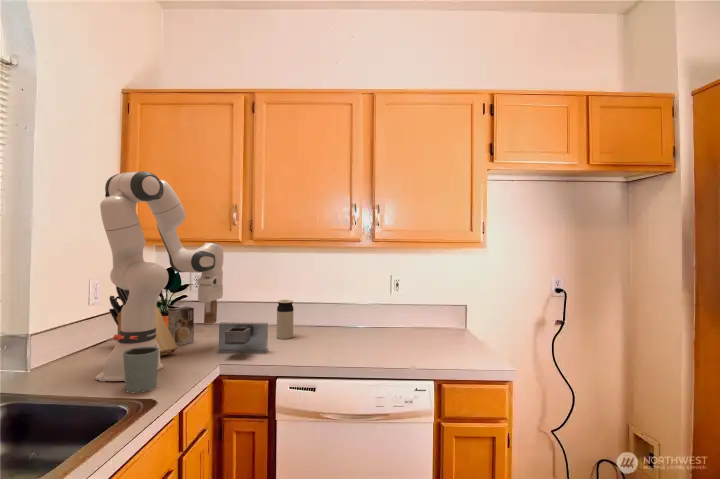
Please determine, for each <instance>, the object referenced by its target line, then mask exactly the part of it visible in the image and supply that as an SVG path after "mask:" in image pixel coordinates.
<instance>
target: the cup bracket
mask: <svg viewBox="0 0 720 479" xmlns="http://www.w3.org/2000/svg"><path fill="white" fill-rule="evenodd" d="M268 334H269V323H268V322H238V321H237V322H235V321H234V322H233V321H231V322H227V321H222V322H219V324H218V350H217V351H216V353H217V354H256V355H257V354H259V355H261V354H263V355H264V354H266V353H267V352H268V351H269V347H268V341H269V339H268V338H269V336H268Z"/></svg>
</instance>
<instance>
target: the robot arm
mask: <svg viewBox="0 0 720 479" xmlns="http://www.w3.org/2000/svg"><path fill="white" fill-rule="evenodd" d="M104 190H105V194H104V199H103V200H102V201H101V202H100V204H99V206H100V216H101V221H102V225H103V229H104V231H105V234H106V236H107V237H106V238H107V240H108V244H109V246H110V249H111V255H112V268H111V271H110V273H109V274H110V276H109V278H110V280H111V283H112V284H113V285H114V286H115V287H116V286H117V287H119V288H121V289H123V290H129V291H130V292H129V296H128V300H127V302H126V304H125V305H124V306H123V307H122V310H121V330H120V332H119V334H118V333H117V334H118V335H117V334H114V335H113V341H116V342H118V343H116V344H115V346H114V347H113V349H112V350H111V351H110V353H109V355H108V356H107V357H106V359H105V360H104V366H103V370H102V371H101V372H100V373H98V374H97V375H95V379H96V380H95V381H97V380H99V382H105V381H124V382H125V372H124V359H123V352H124V351H126V350H129V349H133V348H139V347H157V348H159V344H158V343H157V342H156V340H155V338H156V333H157V331H156V328H155V312H156V305H157V304H158V300H159V298H160V294H161V292H162V291H163V290H164V288H165V287H166V286H167V285H168V282H169V278H170V277H169V276H170V275H169V272H168V270H167V268H166V267H164V266H163V265H160V264H158V263H155V262H152V261H151V262H149V261H145V260H144V248H145V247H146V243H147V242H146V239H145V238H146V237H145V235H144V231H143V229H142V225H141V222H140V219H139V217H138V213H137V203H143V202H145V203H146V204H147V205H148V206H149V207H148V208H150V210H151V212H152V214H153V216H154V218H155V221H156V224H157V225H156V226H157V231H158V233H159V236H160V238H161V240H162V242H163V245H164V247H165V249H166V251H167V252H166V253H167V255H168V259H169V260H168V261H169V264H170V267H171V269H173V271H175V272H176V273H201V276H200V277H199V278H198V279H197V285H198V287H197V300H198V302H199V303H200V304H201V303H202V304H204V308H205V307H206V312H210V311H211V307H210V304H211V301H212V302H217V303H218V300H219V299H222V298H223V294H224V292H223V291H224V290H223V289H224V288H223V287H224V285H223V278H224V277H223V276H224V271H223V265H224V249H223V246H222V245H221V244H219V243H215V242H205V243H204V245H202V246H201V247H199V248H195V249H187V248H184V246H183V244H182V243H181V240H180V238H179V235H178V233H177V228H178V227H180V226H181V225H182V224H183V223H184V221H185V219H186V210H185V208H184V206H183V203H182V201H181V199H180V198H179V196H178V195H177V193H176V192H175V190H174V189H173V187H172V186H171V185H170V183H168V182H167V181H166V180H164V179H160V178H159V177H158V176H157V175H155V174H154V173H152V172H150V171H143V170H142V171H126V172H122V173H116V174H114V175H112V176H110V177H109V178H108V179H107V180H106V183H105V186H104ZM164 368H165V367H164V364H163V363H161V356H160V349H159V355H158V367H157V371H159V370H161V369H164Z"/></svg>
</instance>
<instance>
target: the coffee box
mask: <svg viewBox="0 0 720 479" xmlns="http://www.w3.org/2000/svg"><path fill="white" fill-rule="evenodd" d="M194 309H195V308H194V307H191V306H181V307H173V308H168V310H167V311H168V312H167V314H168V316H167V318H168V319H167V322H168V324H167V325H168V326H167V327H168V329H169V331H170V333H171V335H172V337H173V339H174V341H175V343H176V345H177V347H178V346H181V345H186V344H193V343H194V342H195V340H194V338H195V336H194V334H195V332H194V330H195V329H194V328H195V321H194V320H195V319H194V318H195V315H194V314H195V310H194Z"/></svg>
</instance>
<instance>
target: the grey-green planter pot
mask: <svg viewBox="0 0 720 479" xmlns="http://www.w3.org/2000/svg"><path fill="white" fill-rule="evenodd" d="M158 355H159V348H157V347H139V348H133V349H129V350H126V351H124V352H123V359H124V372H125V381H124V383H125V392H126V391H128V392H127V393H129V392H142V393H144V392H143V391H147V392H149V391H148V390H150V391H152V390H154V389H155V388H156V387H157V379H158V378H157V377H158V370H157V367H158ZM153 388H154V389H153ZM151 389H152V390H151Z"/></svg>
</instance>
